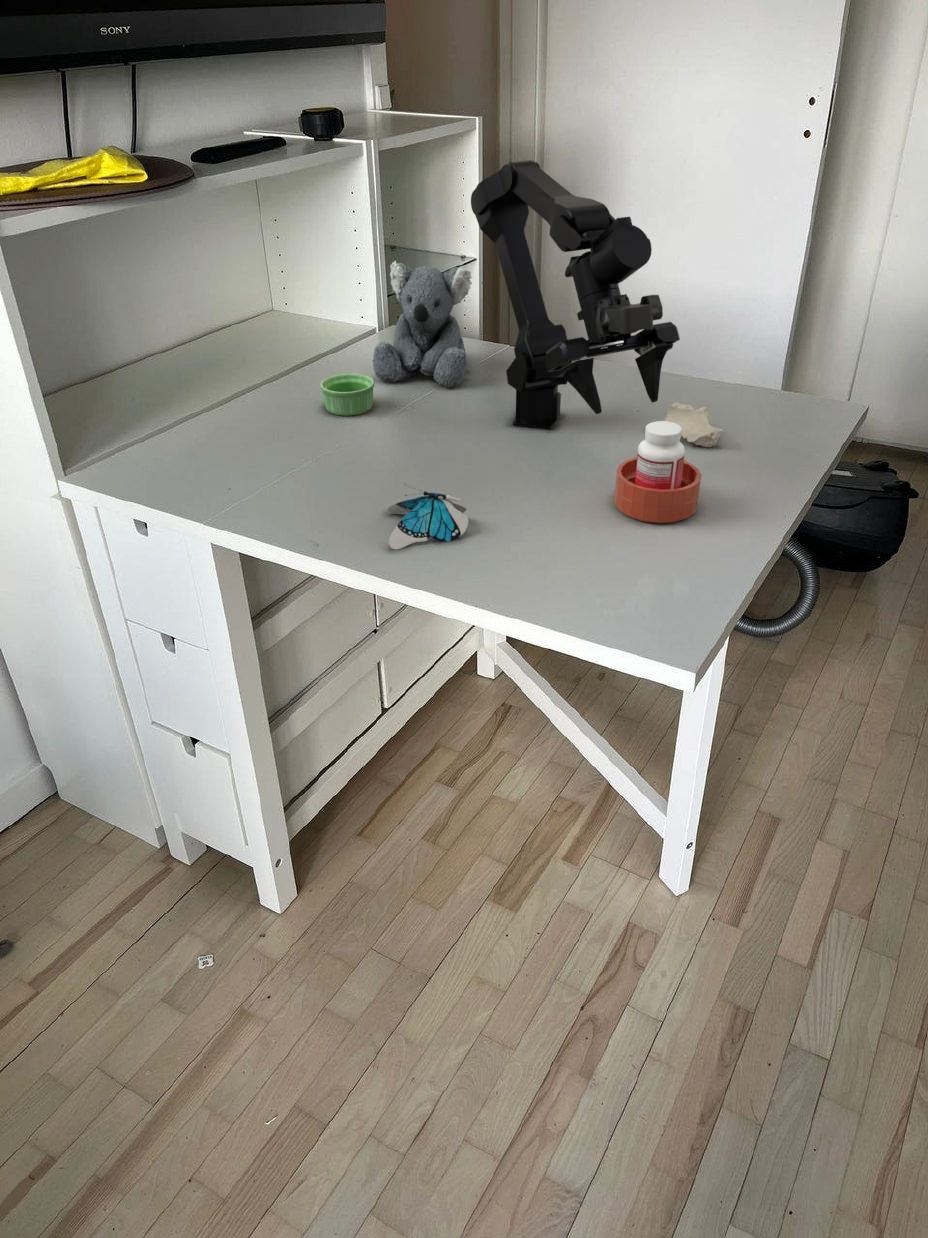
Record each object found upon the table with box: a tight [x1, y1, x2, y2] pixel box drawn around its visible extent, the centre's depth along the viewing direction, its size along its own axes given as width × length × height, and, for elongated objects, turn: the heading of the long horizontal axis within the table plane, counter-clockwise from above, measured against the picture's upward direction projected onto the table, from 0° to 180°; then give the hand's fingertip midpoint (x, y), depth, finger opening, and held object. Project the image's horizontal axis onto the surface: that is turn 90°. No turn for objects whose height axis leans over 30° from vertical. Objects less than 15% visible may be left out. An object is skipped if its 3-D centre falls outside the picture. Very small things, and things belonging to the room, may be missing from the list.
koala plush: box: [372, 260, 473, 388], centre depth 173 cm, size 17×18×20 cm
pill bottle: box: [635, 420, 686, 490], centre depth 129 cm, size 6×6×11 cm
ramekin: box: [320, 373, 375, 417], centre depth 162 cm, size 9×9×4 cm
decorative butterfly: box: [387, 483, 469, 550], centre depth 126 cm, size 10×6×10 cm
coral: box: [663, 401, 723, 448], centre depth 150 cm, size 6×10×4 cm, turn 45°
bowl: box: [613, 456, 702, 524], centre depth 131 cm, size 11×11×5 cm
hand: (627, 407), depth 132 cm, fingers open, 9 cm apart
